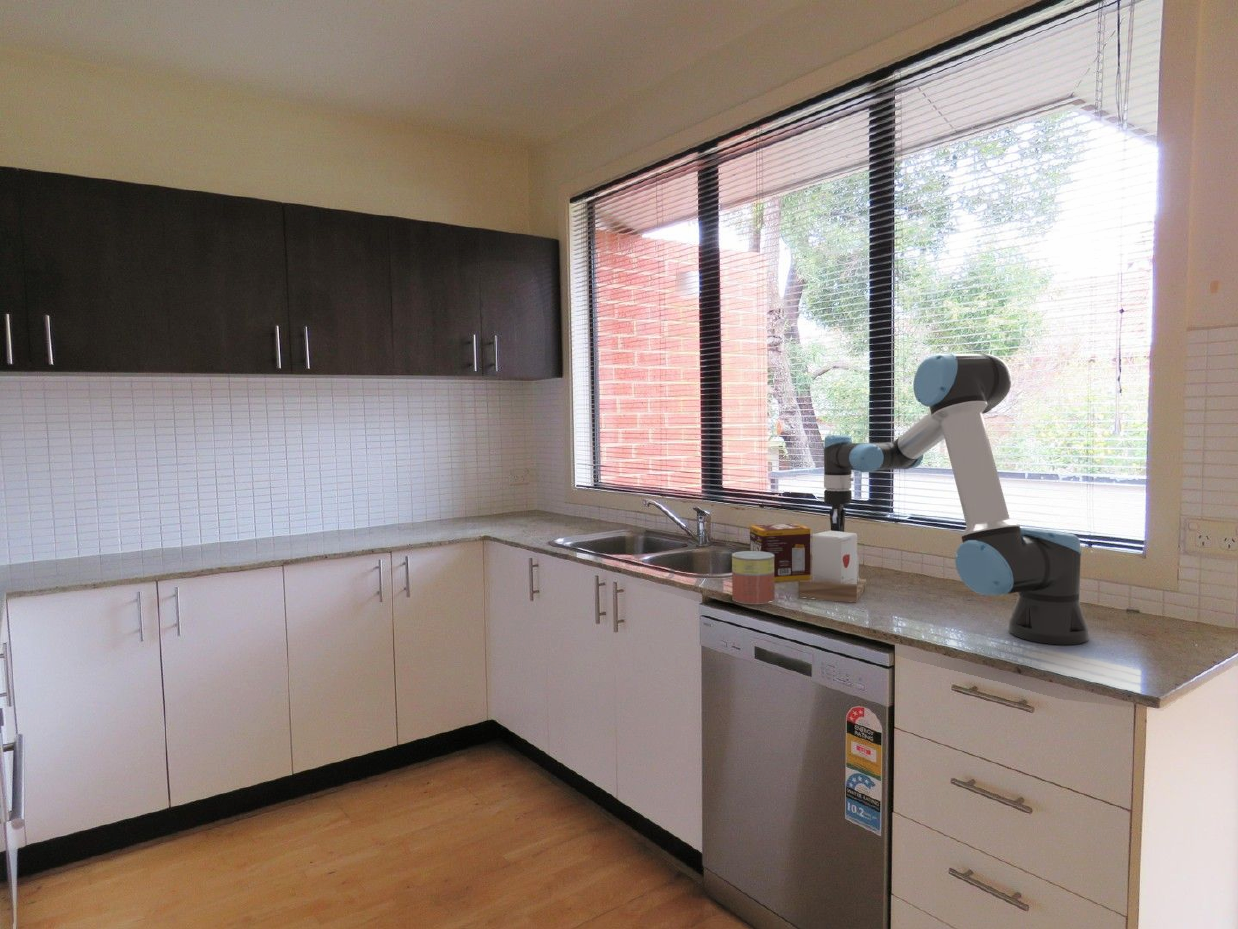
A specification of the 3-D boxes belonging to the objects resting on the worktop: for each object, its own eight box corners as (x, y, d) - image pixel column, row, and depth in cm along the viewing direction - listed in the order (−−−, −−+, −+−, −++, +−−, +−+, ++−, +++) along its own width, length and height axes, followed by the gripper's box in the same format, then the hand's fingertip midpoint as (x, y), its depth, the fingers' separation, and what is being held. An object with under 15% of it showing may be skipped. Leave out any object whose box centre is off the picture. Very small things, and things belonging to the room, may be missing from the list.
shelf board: (856, 602, 197) (856, 585, 197) (798, 597, 203) (798, 581, 203) (866, 584, 217) (866, 569, 217) (813, 580, 223) (812, 565, 223)
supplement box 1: (749, 575, 232) (748, 525, 231) (796, 572, 235) (796, 522, 233) (761, 583, 222) (761, 530, 221) (811, 580, 224) (811, 527, 223)
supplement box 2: (841, 593, 201) (840, 537, 199) (811, 588, 207) (811, 534, 206) (858, 587, 207) (858, 532, 206) (829, 582, 213) (828, 529, 212)
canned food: (753, 592, 211) (753, 549, 210) (783, 599, 202) (783, 555, 201) (723, 598, 204) (722, 554, 204) (752, 606, 195) (752, 560, 194)
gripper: (848, 492, 208) (848, 577, 209) (854, 487, 220) (854, 567, 221) (820, 491, 211) (820, 575, 213) (828, 486, 223) (828, 566, 224)
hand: (837, 571), depth 217 cm, fingers closed
